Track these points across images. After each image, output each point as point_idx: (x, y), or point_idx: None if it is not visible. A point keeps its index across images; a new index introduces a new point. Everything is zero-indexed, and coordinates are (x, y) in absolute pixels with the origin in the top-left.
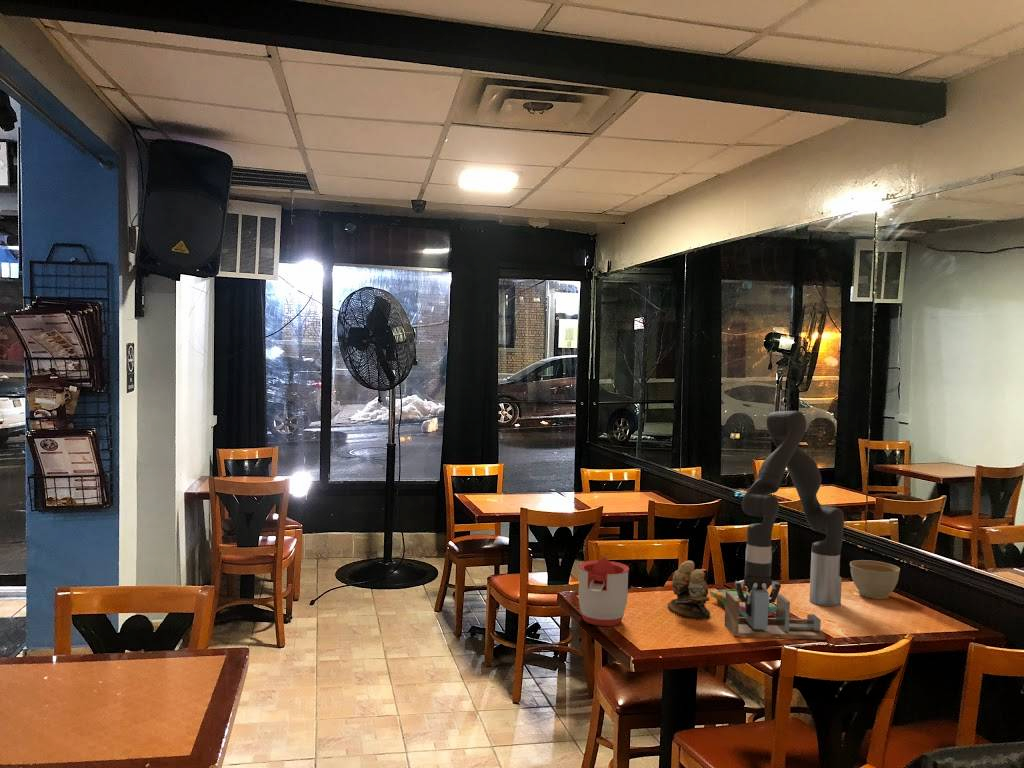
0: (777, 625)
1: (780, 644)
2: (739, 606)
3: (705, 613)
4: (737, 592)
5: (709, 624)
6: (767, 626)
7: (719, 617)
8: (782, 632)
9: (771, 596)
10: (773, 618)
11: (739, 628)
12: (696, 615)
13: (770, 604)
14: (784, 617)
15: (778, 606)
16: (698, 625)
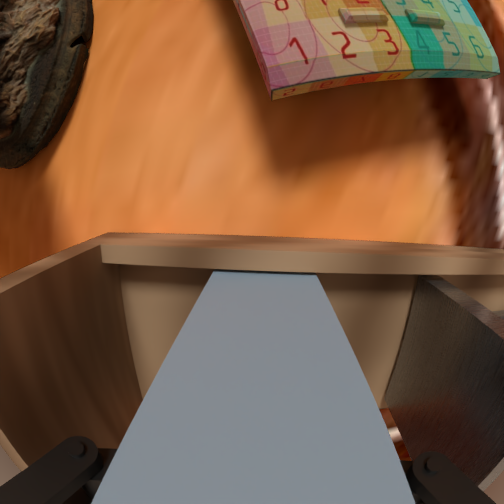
0: (413, 294)
1: None
2: (246, 23)
3: (32, 129)
4: (25, 480)
5: (48, 224)
6: (345, 320)
7: (120, 90)
8: (374, 394)
9: (437, 491)
10: (425, 265)
11: (156, 354)
12: (3, 162)
13: (478, 42)
14: (411, 439)
15: (474, 373)
16: (15, 244)
